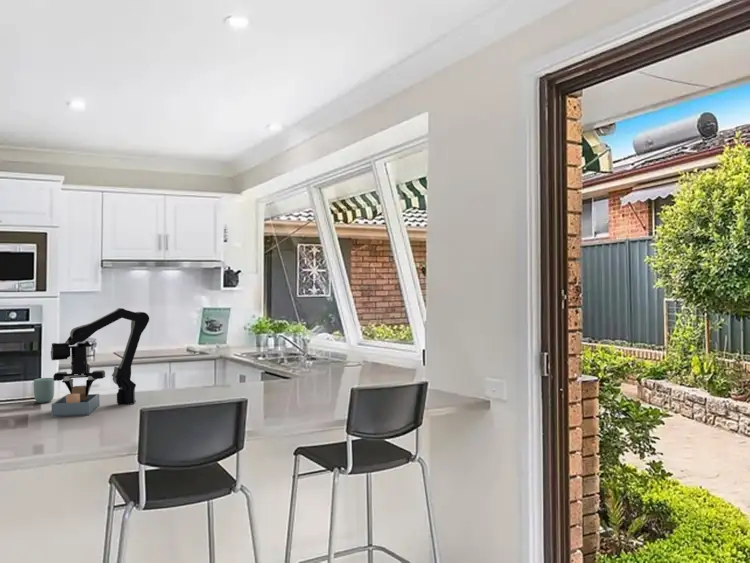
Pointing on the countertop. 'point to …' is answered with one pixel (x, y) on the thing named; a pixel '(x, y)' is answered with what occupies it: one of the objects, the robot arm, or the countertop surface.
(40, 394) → the cup
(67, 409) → the slate tote
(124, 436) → the countertop surface
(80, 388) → the walnut cube
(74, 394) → the terracotta cylinder
